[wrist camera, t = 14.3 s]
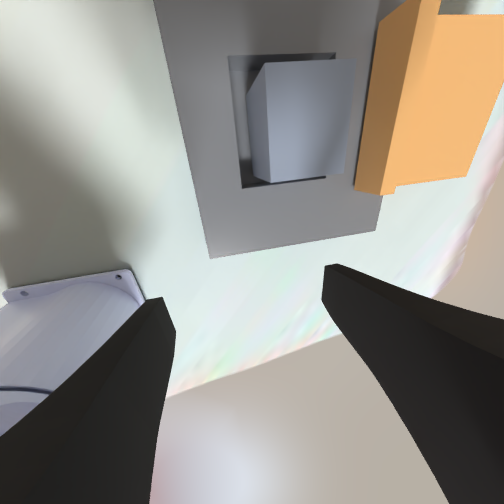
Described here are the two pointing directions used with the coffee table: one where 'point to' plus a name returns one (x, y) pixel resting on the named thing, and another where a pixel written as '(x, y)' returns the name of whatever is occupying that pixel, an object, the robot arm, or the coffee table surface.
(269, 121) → the grey rectangular block
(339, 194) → the socket base
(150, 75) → the coffee table surface
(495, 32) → the panel
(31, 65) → the coffee table surface
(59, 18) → the coffee table surface
